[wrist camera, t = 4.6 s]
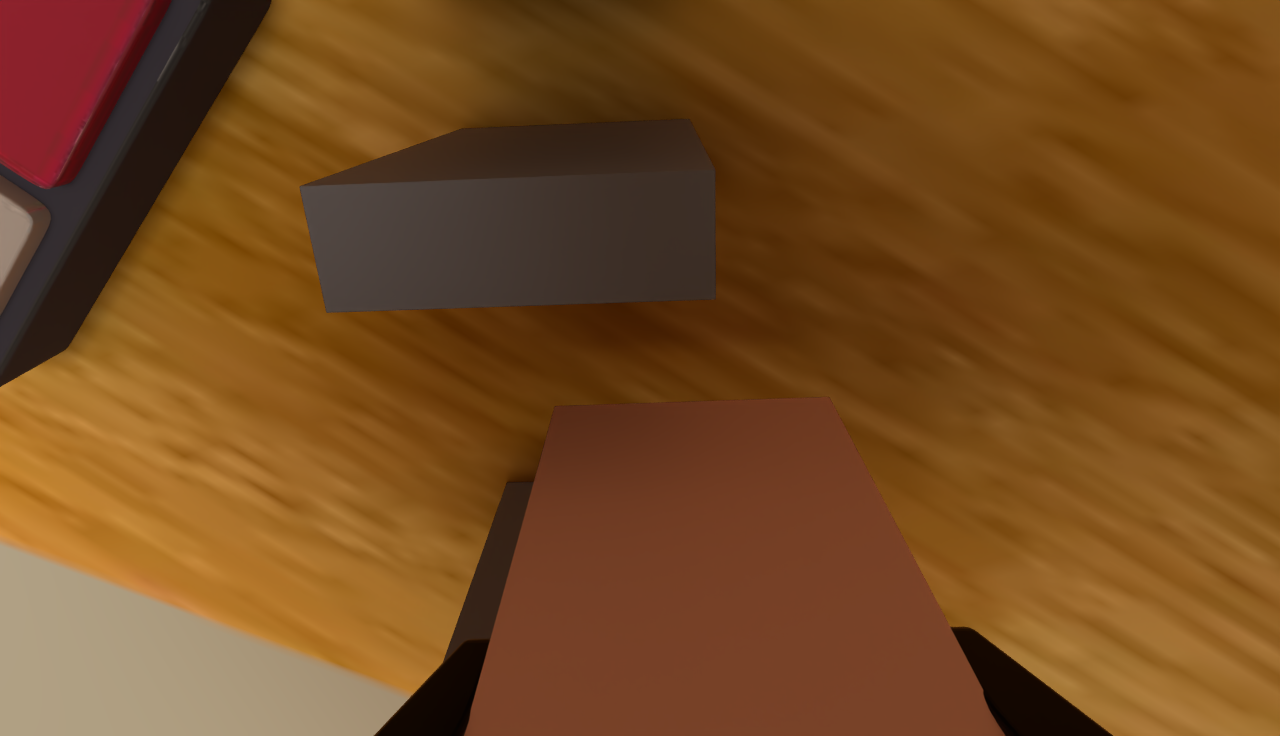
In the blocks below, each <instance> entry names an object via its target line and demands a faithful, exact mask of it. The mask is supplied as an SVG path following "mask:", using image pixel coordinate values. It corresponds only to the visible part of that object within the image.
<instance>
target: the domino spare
mask: <svg viewBox="0 0 1280 736" xmlns="http://www.w3.org/2000/svg"><path fill="white" fill-rule="evenodd" d="M464 736H1005V734H1004V733H1003V731H1002V730H1001V728H1000V727H999V725H998V724H997V722H996V720H995V719H994V717H993V715H992V714H991V712H990V710H989V708H988V706H987V703H986V701H985V698H984V695H983V689H982V687H981V685H980V683H979V681H978V679H977V677H976V675H975V673H974V671H973V670H972V668H971V666H970V664H969V662H968V660H967V658H966V656H965V654H964V652H963V651H962V649H961V647H960V645H959V643H958V641H957V639H956V637H955V635H954V633H953V632H952V630H951V628H950V626H949V624H948V622H947V620H946V618H945V616H944V614H943V613H942V611H941V609H940V607H939V605H938V603H937V601H936V599H935V597H934V595H933V593H932V592H931V590H930V588H929V586H928V584H927V582H926V580H925V578H924V576H923V574H922V573H921V571H920V569H919V567H918V565H917V563H916V561H915V559H914V557H913V555H912V554H911V552H910V550H909V548H908V546H907V544H906V542H905V540H904V538H903V536H902V534H901V533H900V531H899V529H898V527H897V525H896V523H895V521H894V519H893V517H892V515H891V514H890V512H889V510H888V508H887V506H886V504H885V502H884V500H883V498H882V496H881V495H880V493H879V491H878V489H877V487H876V485H875V483H874V481H873V479H872V477H871V476H870V474H869V472H868V470H867V468H866V466H865V464H864V462H863V460H862V458H861V456H860V455H859V453H858V451H857V449H856V447H855V445H854V443H853V441H852V439H851V437H850V436H849V434H848V432H847V430H846V428H845V426H844V424H843V422H842V420H841V418H840V417H839V415H838V413H837V411H836V409H835V407H834V405H833V403H832V401H831V399H830V398H829V397H811V398H782V399H752V400H723V401H693V402H663V403H634V404H604V405H574V406H555V407H554V411H553V415H552V418H551V422H550V426H549V429H548V433H547V436H546V440H545V444H544V447H543V451H542V454H541V458H540V462H539V465H538V469H537V472H536V476H535V480H534V483H533V487H532V491H531V494H530V498H529V501H528V505H527V509H526V512H525V516H524V519H523V523H522V527H521V530H520V534H519V538H518V541H517V545H516V548H515V552H514V556H513V559H512V563H511V566H510V570H509V574H508V577H507V581H506V584H505V588H504V592H503V595H502V599H501V603H500V606H499V610H498V613H497V617H496V621H495V624H494V628H493V631H492V635H491V639H490V642H489V646H488V650H487V653H486V657H485V660H484V664H483V668H482V671H481V675H480V678H479V682H478V686H477V689H476V693H475V696H474V700H473V704H472V707H471V712H470V718H469V723H468V725H467V728H466V731H465V734H464Z"/></svg>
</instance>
